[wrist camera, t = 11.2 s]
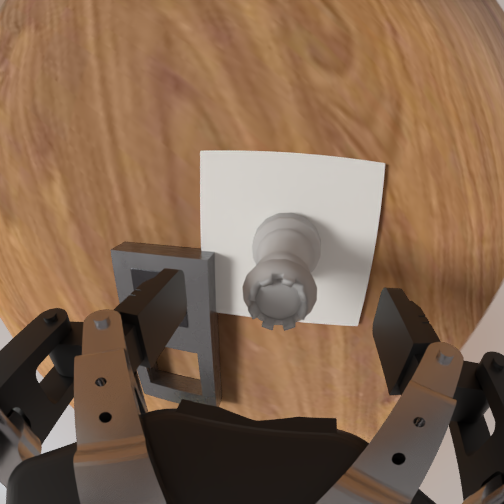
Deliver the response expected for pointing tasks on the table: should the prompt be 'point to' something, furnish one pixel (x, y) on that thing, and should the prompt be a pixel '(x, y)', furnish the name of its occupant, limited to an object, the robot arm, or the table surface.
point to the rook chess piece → (283, 271)
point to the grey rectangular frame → (192, 326)
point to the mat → (299, 202)
